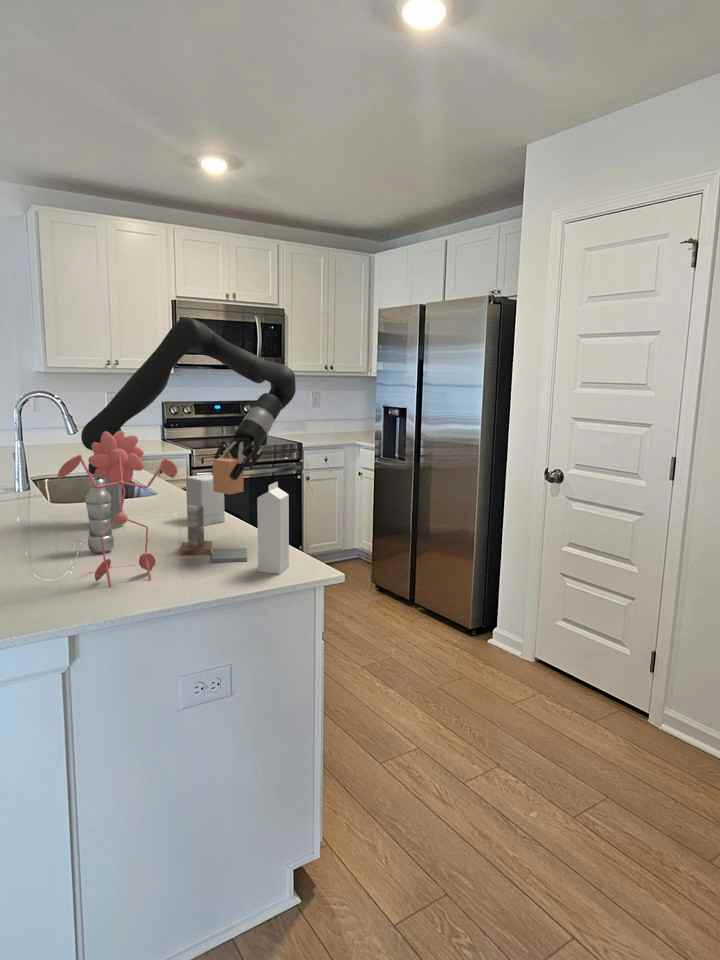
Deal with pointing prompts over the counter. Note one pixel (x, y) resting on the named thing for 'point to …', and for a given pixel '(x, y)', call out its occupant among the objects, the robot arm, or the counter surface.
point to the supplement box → (205, 498)
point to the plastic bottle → (99, 517)
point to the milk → (273, 530)
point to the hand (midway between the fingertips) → (223, 476)
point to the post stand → (195, 533)
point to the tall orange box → (226, 476)
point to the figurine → (118, 481)
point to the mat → (229, 555)
